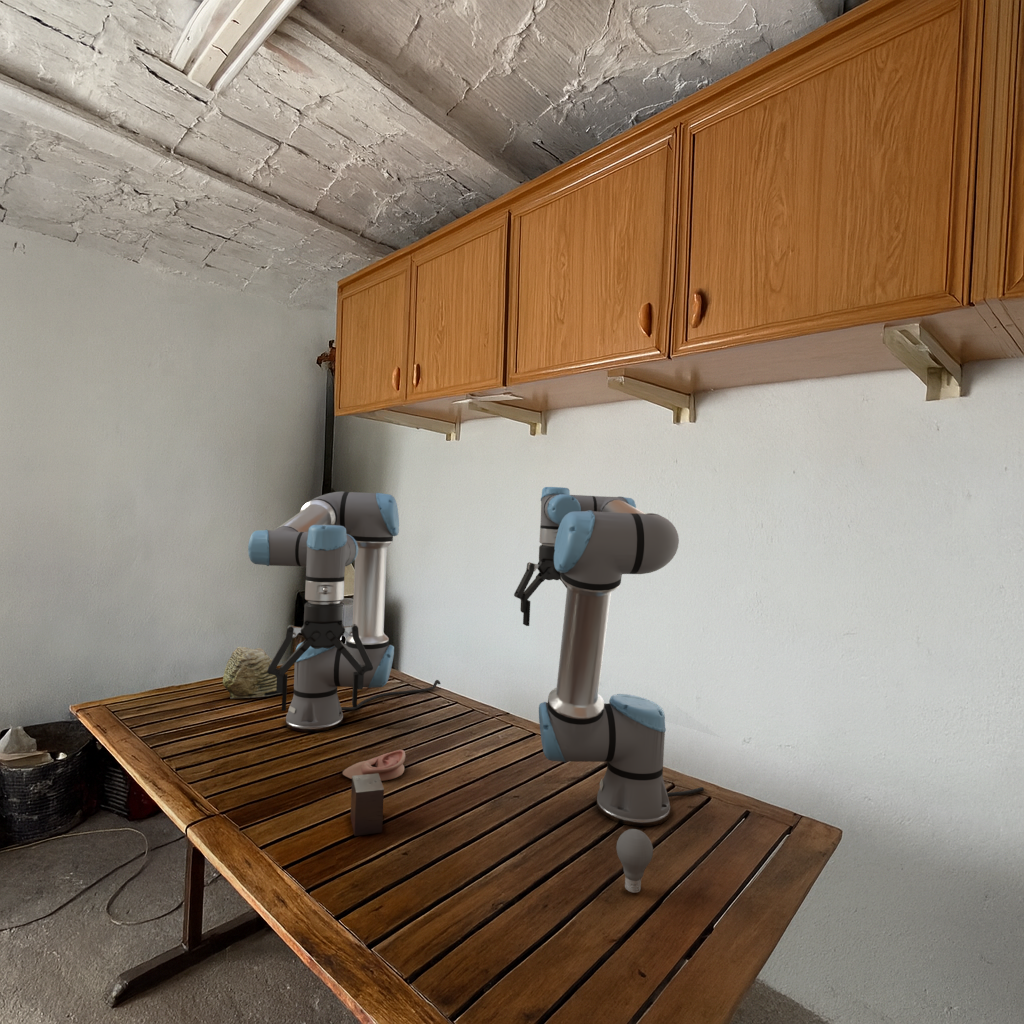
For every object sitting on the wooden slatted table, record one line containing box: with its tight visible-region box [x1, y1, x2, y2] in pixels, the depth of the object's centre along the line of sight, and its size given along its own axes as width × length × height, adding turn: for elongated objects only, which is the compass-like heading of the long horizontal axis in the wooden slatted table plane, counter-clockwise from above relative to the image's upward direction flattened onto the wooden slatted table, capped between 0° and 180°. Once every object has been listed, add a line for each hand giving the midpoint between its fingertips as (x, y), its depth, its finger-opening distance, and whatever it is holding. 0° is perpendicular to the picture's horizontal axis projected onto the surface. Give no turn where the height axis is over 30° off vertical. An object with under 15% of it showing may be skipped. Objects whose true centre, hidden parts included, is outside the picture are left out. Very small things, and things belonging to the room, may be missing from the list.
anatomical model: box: [342, 749, 406, 782], centre depth 146 cm, size 13×4×12 cm
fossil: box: [222, 646, 281, 699], centre depth 198 cm, size 9×18×15 cm, turn 132°
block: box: [350, 773, 385, 837], centre depth 123 cm, size 5×7×8 cm
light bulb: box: [615, 828, 654, 894], centre depth 106 cm, size 6×6×10 cm
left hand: (319, 707), depth 127 cm, fingers open, 13 cm apart
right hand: (549, 624), depth 169 cm, fingers open, 13 cm apart
